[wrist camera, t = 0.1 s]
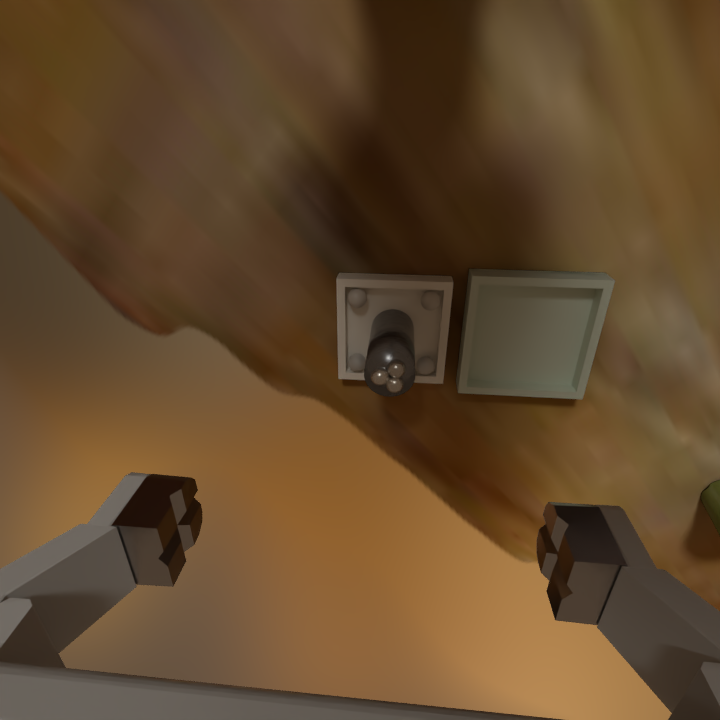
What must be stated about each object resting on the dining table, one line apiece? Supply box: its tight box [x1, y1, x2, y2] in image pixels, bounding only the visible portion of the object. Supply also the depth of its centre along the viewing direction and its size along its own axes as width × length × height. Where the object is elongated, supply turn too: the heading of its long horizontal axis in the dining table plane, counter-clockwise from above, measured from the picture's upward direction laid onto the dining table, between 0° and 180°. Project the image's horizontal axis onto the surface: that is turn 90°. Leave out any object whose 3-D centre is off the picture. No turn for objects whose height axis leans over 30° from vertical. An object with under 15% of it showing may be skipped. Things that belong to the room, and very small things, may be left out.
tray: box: [336, 273, 454, 384], centre depth 59 cm, size 14×14×3 cm
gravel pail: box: [364, 309, 415, 396], centre depth 54 cm, size 6×6×13 cm
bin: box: [456, 269, 615, 399], centre depth 58 cm, size 16×16×3 cm
